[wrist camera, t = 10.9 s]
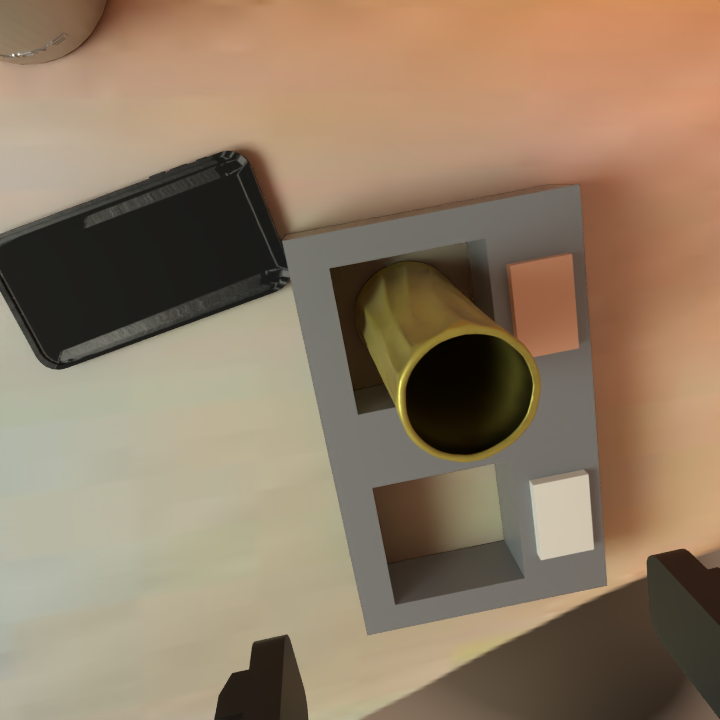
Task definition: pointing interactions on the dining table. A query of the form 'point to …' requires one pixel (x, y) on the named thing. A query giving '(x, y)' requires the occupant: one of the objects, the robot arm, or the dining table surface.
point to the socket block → (513, 464)
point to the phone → (142, 260)
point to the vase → (446, 364)
